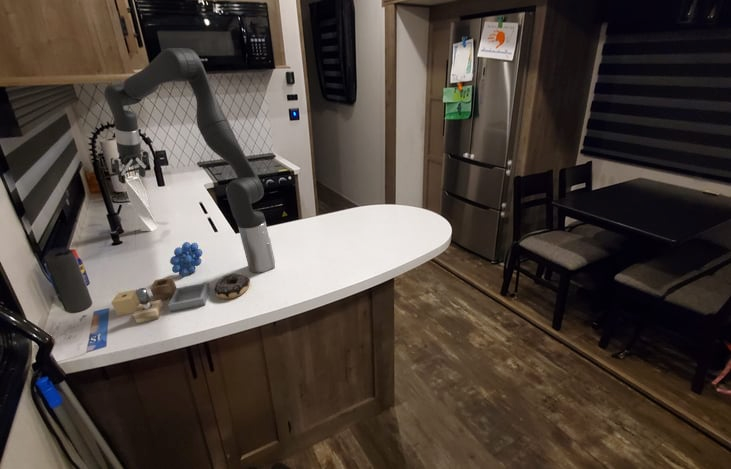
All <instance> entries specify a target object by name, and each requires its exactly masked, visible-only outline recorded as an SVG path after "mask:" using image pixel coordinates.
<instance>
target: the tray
mask: <svg viewBox="0 0 731 469" xmlns="http://www.w3.org/2000/svg"><path fill="white" fill-rule="evenodd" d="M210 289H211V288H210V285H209V282H203V283H197V284H193V285H187V286H186V285H185V286H181V287H176V290H175V292H174V294H173V297H172V299H170V301H169V303H168V307H169V310H170V313H173V312H174V313H175V312H178V311H183V310H188V309H193V308H194V309H195V308H199V307H203V306H206V303H207V300H208V296H209V293H210Z"/></svg>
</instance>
